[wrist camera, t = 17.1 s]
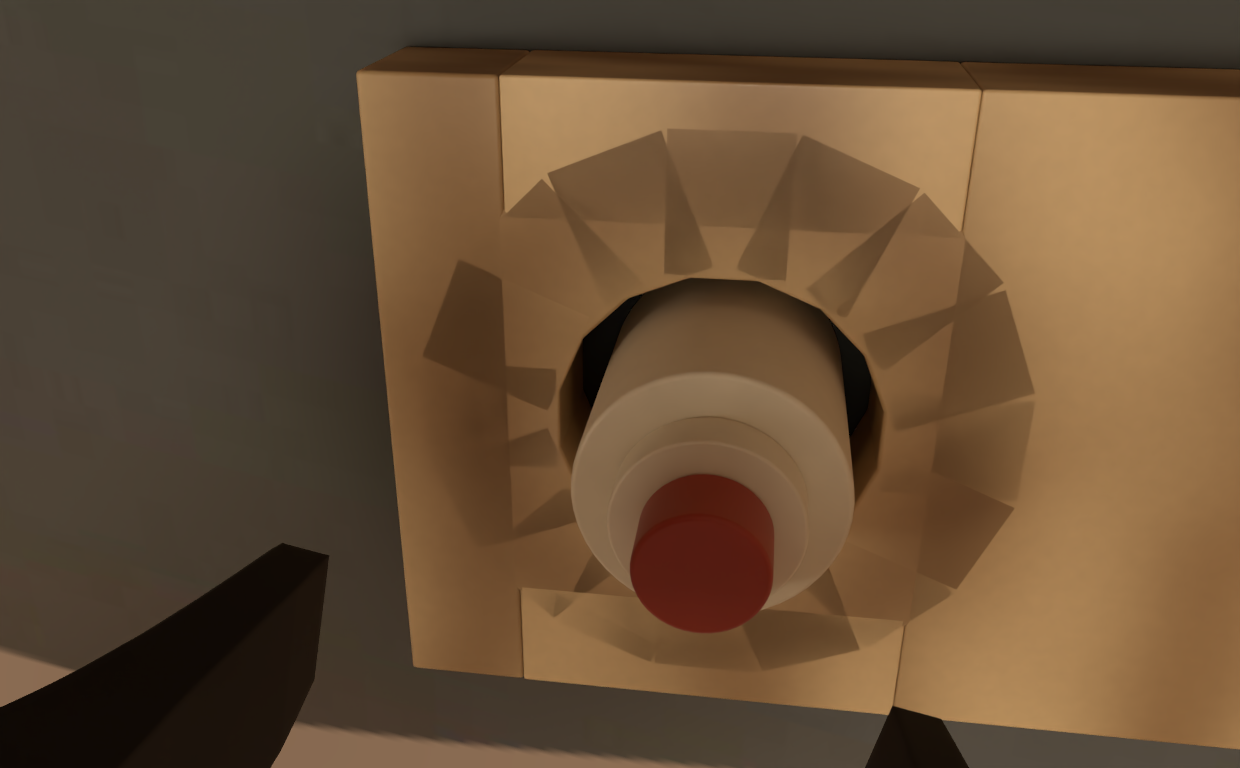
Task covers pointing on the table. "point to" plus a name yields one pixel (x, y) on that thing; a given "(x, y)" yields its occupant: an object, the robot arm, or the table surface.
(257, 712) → the robot arm
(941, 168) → the board
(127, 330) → the table surface
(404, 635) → the table surface
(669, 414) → the bottle
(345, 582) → the table surface
